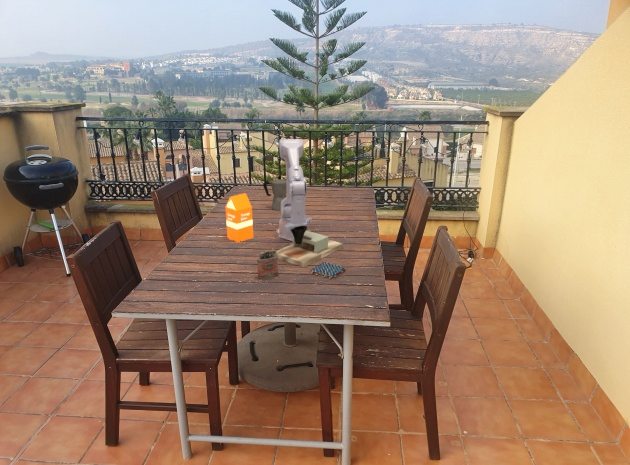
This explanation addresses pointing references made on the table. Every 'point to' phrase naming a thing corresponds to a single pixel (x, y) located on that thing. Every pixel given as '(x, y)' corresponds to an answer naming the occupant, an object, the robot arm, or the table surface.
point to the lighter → (267, 264)
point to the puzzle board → (306, 253)
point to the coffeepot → (277, 192)
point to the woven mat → (328, 270)
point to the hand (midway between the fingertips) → (298, 243)
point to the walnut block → (308, 246)
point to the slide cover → (314, 240)
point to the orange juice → (239, 218)
